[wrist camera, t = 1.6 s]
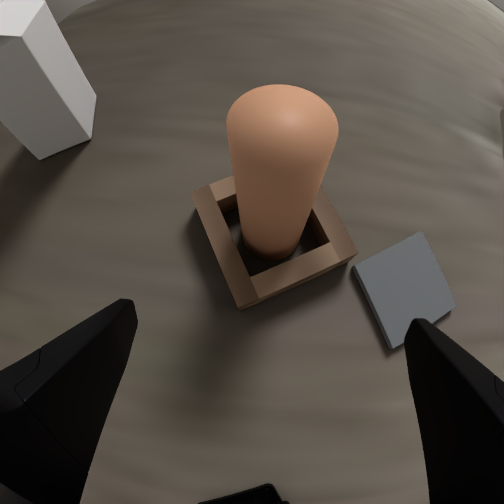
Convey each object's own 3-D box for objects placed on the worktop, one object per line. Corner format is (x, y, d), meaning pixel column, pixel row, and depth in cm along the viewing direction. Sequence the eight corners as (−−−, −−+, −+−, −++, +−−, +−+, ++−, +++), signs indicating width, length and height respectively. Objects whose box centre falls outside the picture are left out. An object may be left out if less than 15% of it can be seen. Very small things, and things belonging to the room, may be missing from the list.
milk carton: (97, 96, 29) (31, -29, 11) (92, 140, 27) (0, 1, 9) (48, 116, 29) (-27, 11, 10) (39, 161, 27) (-61, 51, 8)
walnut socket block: (240, 311, 22) (237, 307, 20) (196, 206, 24) (190, 192, 22) (348, 261, 23) (358, 252, 20) (296, 167, 25) (300, 150, 23)
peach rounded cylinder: (256, 270, 23) (254, 184, 10) (233, 219, 24) (210, 102, 12) (309, 247, 23) (359, 147, 11) (284, 199, 24) (304, 75, 12)
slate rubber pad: (388, 348, 21) (393, 348, 20) (351, 267, 23) (354, 265, 22) (451, 306, 22) (456, 305, 21) (417, 233, 23) (421, 230, 23)
